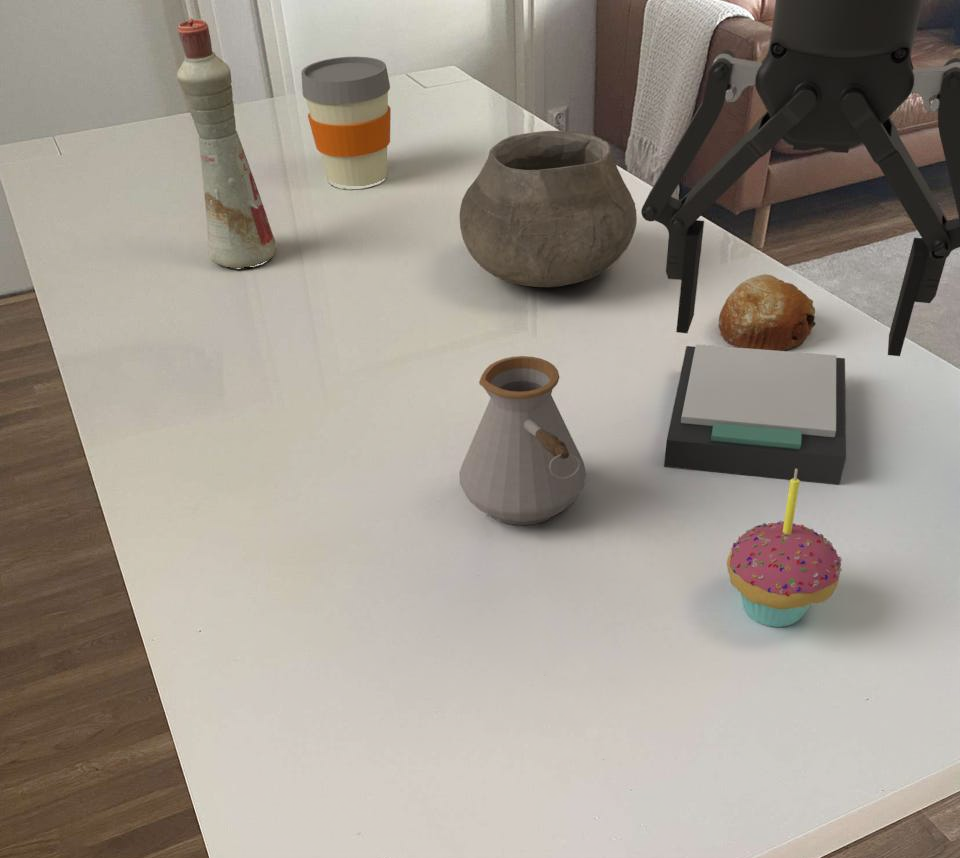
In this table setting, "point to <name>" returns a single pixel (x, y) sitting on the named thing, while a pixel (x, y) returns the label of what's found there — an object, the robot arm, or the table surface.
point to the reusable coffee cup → (349, 117)
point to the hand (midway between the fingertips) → (787, 335)
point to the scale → (759, 414)
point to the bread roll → (766, 315)
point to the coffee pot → (522, 446)
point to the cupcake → (783, 568)
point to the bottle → (222, 156)
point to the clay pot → (548, 209)
